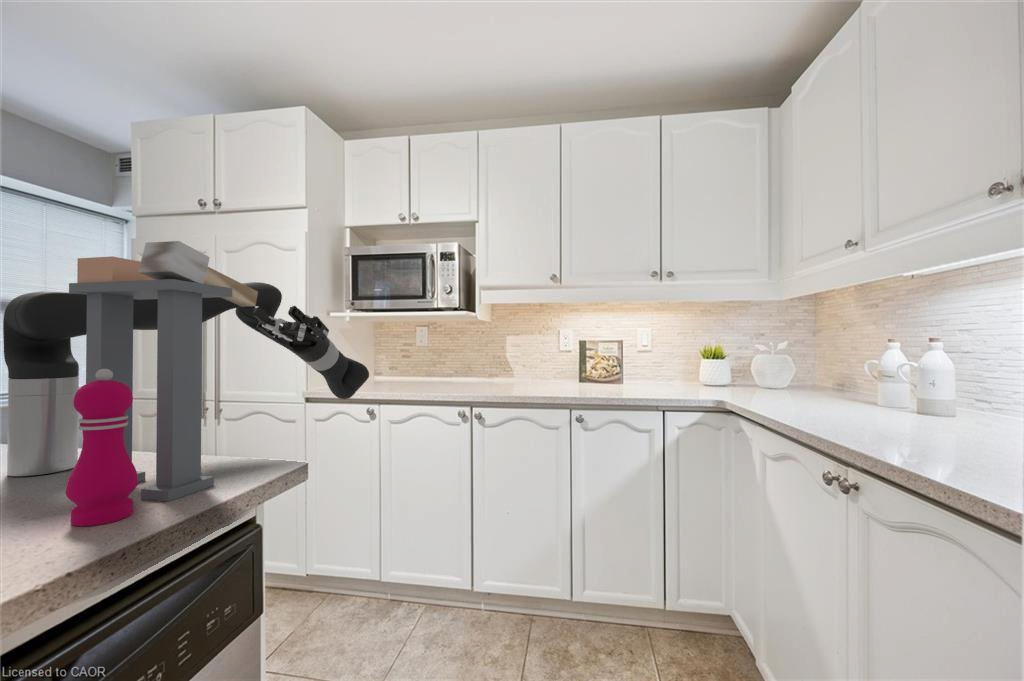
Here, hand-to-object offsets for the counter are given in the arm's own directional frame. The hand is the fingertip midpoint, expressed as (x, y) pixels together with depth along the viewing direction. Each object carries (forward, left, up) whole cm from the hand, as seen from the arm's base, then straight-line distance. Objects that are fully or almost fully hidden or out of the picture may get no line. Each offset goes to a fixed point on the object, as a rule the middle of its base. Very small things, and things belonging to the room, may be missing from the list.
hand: (272, 309), depth 95 cm
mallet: (+5, -15, +1) cm, 16 cm away
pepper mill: (+13, -31, -31) cm, 45 cm away
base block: (-3, -23, +2) cm, 24 cm away
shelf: (+2, -21, -31) cm, 37 cm away
